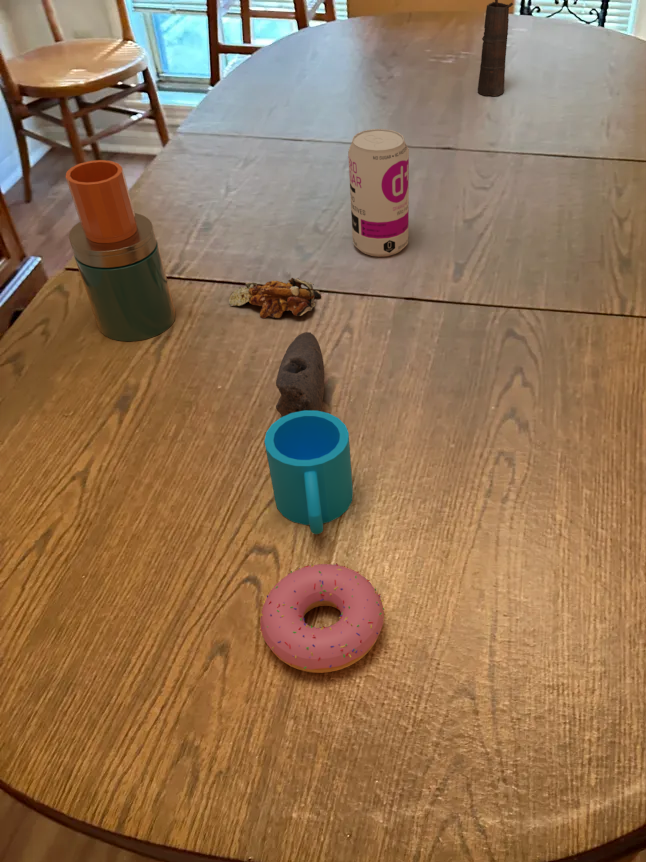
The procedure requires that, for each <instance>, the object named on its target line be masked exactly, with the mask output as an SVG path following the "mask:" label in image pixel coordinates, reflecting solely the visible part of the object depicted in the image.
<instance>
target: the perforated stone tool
mask: <svg viewBox="0 0 646 862" xmlns="http://www.w3.org/2000/svg"><path fill="white" fill-rule="evenodd" d="M275 386H276V388H277V390H278V391H279V394H280V397H279V399H278V401H277V403H276V405H275V409H276V411H277V412H278V413H279V414H280V417H283V416H286V415H288V414H290V413H294V412H299V411H304V410H309V411H321V412H322V406H323V400H324V393H325V364H324V357H323V353H322V350H321V346H320V343H319V341H318V339H317V337H316V336H315V335H314V334H313V333H312V332H309V331H305V332H301V333H300V334H298V335H297V336H295V338H294V340H292V341H291V343H290V344H289V345H288V347H287V349H286V351H285V353H284V355H283V356H282V359H281V362H280V364H279V367H278V371H277V377H276V380H275Z"/></svg>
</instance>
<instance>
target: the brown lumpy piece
mask: <svg viewBox="0 0 646 862" xmlns="http://www.w3.org/2000/svg"><path fill="white" fill-rule="evenodd" d="M287 281H288V282H287V283H286V282H283V281H279V280H270V281H266V282H265V284H263V285H260V284H258V283H257V282H250V281H249V282H245V287H243V286H239V287H237V288H236V290H234V291H231V293H230V295H229V297H228V298H229V300H228V305H229V306H230V307H232V306H238V307H241V306H243V305H245V304H246V303H248V302H249V304H251V305H252V306H259V307H261V308H260V312H259V317H260V318H261V319H266V318H267V317H270V318H275V319H280V318H282V316H283V313H284V312H285V311H291V313H292V314H293V316H297V317H301V316H303V315H304V314H306V313H307V312H310V311H311V312H312V310H313V308H314V307H316V303H315V297H317V298H321V297H322V294H321V292H320V291H319V290H314V285H315V283H313V282H311V281H310V282H309V281H306V280H301V279H300V278H299V277H296V278H295V277H291V278H289V280H287ZM303 286H304V287H306V288H307V289H306V288H303Z"/></svg>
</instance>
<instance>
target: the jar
mask: <svg viewBox="0 0 646 862" xmlns="http://www.w3.org/2000/svg"><path fill="white" fill-rule="evenodd" d="M73 257H74V260H75V264H76V266H77V269H78V272H79V275H80V277H81V281H82V284H83V287H84V289H85V293H86V296H87V298H88V302H89V304H90V307H91V310H92V313H93V316H94V319H95V322H96V324H97V327H98V330H99V331H100V333H101V334H102V335H103V336H105V337H106V338H108V339H111V340H114V341H120V342H139V341H144V340H149V339H151V338H154V337H157V336H158V335H161V334H162V333H165V332H166V331H167V330H168V329H169V328H170V327H172V325H173V324H174V322H175V320H176V309H175V306H174V302H173V298H172V295H171V294H172V293H171V290H170V285H169V282H168V278H167V274H166V270H165V266H164V262H163V257H162V254H161V250H160V246H159V242H158V240H157V239H156V247H155V249H154V250H153V252H152V253H151V254H149V255H148V256H147V257H145V258H144V259H142V260H140V261H137V262H135V263H132V264H129V265H125V266H120V267H112V268H100V267H92V266H88V265H86V264H83V263H81V262H80V261H79V260H78V259H77V258H76V257H75V255H74V254H73Z"/></svg>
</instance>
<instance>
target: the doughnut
mask: <svg viewBox="0 0 646 862" xmlns="http://www.w3.org/2000/svg"><path fill="white" fill-rule="evenodd" d="M370 581H371V580H370V579H367V578H366V577H365V576H364V575H362V574H361V573H360V571H356V570H354V569H351V568H349V567H346V566H345V565H343V566H342V565H339V564H338V562H337V563H335V564H331V563H319V564H313V563H311V564H310V565H305V566H303V567H301V568H300V567H298V568H296V569H295V570H294V571H292V570H290V573H288V574H287V575H285V576H284V577H283V578H281V579H280V580H279V581H278V582H277V583H275V585H274V586H273V587H272V588H271V590H270V591H269V593H268V594H267V595H266V598H265V601H264V600H262V603H263V605H262V608H261V612H260V614H259V615H258V616H259V618H260V619H259V621H260V623H259V624H260V630H259V631H260V632H261V634H262V638H263V640H264V641H265V643H266V645H267V646H268V647H269V649H270V650H271V652H272V653H273V654H274V655H275V656H276V657H277V658H278V659H279V660H280V661H281V662H283V663H284V664H286V665H288V666H290V667H291V668H294V669H297V670H300V671H302V672H307V673H316V674H321V673H322V674H323V673H331V672H336V671H340V670H343V669H347V668H348V667H350V666H352V665H354V664H356V663H357V662H358V661H360V660H361V659H363V658H364V657H365V656H366V655H368V653H369V652H370V651H371V650H372V648H373V647H374V646H375V644H376V642H377V641H378V639H379V636H380V633H381V631H382V628H383V627H384V621H385V619H384V618H385V608H384V605H383V602H384V599H381V595H382V594H381V593H379V592H378V591H377V588H376V587H374V586H373V585H372V583H371V582H370ZM317 607H333V608H335V609H337V610H338V611H339V612H340V615H339V616H338V619H339V620H338V621H336V622H335V623H334V624H330V625H329V626H327V627H326V626H324V625H323V626H322V627H316V626H313V625H309V624H308V623H306V622H305V615H306V614H307V613H308V612H310V611H311V610H313V609H314V608H317Z"/></svg>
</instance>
